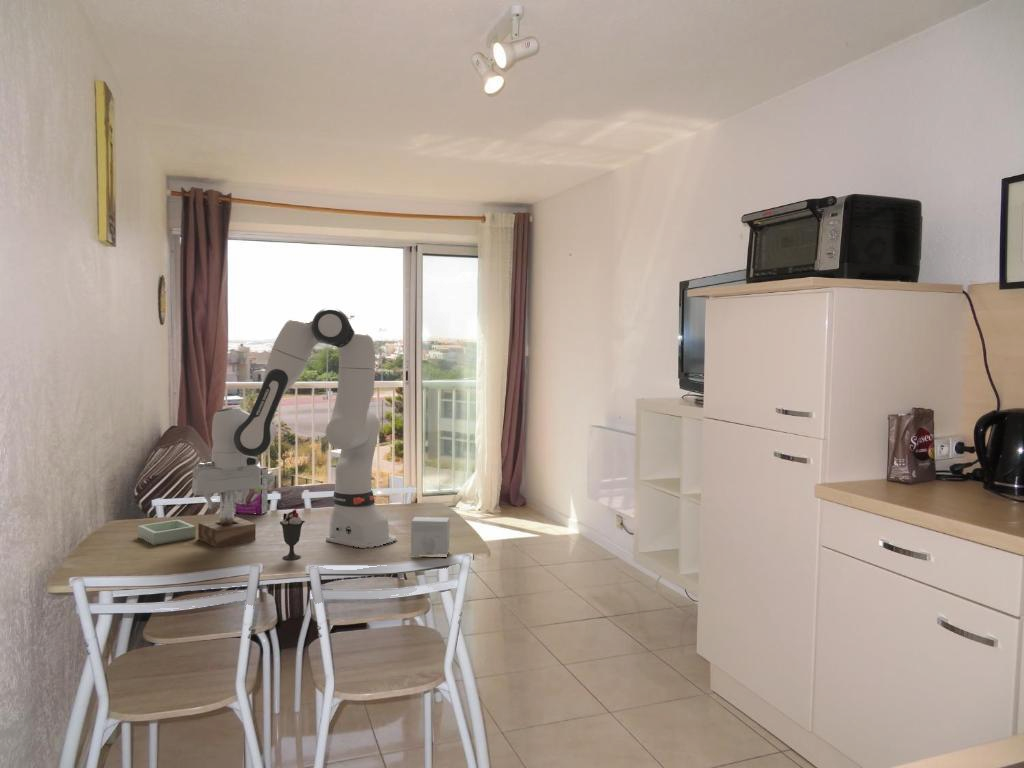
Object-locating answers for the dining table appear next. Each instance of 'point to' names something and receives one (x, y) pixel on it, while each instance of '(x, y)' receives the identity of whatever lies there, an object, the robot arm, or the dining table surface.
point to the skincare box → (429, 535)
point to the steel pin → (226, 508)
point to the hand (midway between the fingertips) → (227, 506)
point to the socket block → (226, 532)
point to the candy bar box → (254, 497)
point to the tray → (166, 532)
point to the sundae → (291, 532)
